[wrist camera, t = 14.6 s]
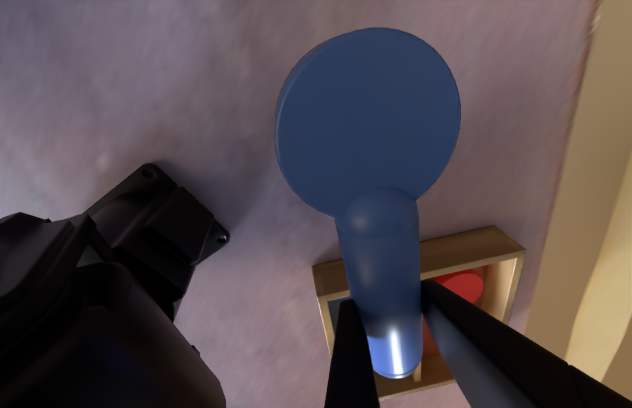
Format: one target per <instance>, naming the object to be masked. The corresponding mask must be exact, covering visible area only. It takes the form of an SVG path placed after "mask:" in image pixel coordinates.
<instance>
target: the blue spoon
mask: <svg viewBox="0 0 632 408" xmlns="http://www.w3.org/2000/svg"><path fill="white" fill-rule="evenodd" d="M460 121H461V104H460V97H459V92H458V88H457V85H456V81H455V79H454V77H453V75H452V73H451V70H450V68H449V67H448V65H447V64H446V62H445V61H444V59H443V58H442V57H441V56H440V55H439V53H438V52H437V51H436V50H435V49H434V48H433V47H431V46H430V45H429V44H428V43H426V42H425V41H424V40H422V39H420V38H418V37H416V36H414V35H413V34H410V33H407V32H404V31H401V30H398V29H391V28H365V29H359V30H355V31H352V32H349V33H345V34H342V35H340V36H337V37H334V38H331V39H329V40H327V41H325V42H323V43H321V44H319V45H317V46H316V47H314V48H313V49H311V50H310V51H309V52H308V53H306V54H305V55H304V56H303V57H302V58H301V59H300V60H299V61H298V62H297V64H296V65H295V66H294V67H293V68H292V70H291V71H290V73H289V74H288V76H287V78H286V79H285V81H284V83H283V86H282V88H281V90H280V93H279V96H278V99H277V103H276V109H275V120H274V141H275V151H276V155H277V160H278V163H279V166H280V169H281V171H282V174H283V175H284V177H285V179H286V181H287V183H288V184H289V186H290V187H291V188H292V190H293V191H294V192H295V193H296V194H297V195H298V196H299V197H300V198H301V199H302V200H303V201H304V202H305V203H307V204H308V205H309V206H311V207H312V208H314V209H316V210H317V211H319V212H322V213H324V214H326V215H329V216H332V217H335V224H336V229H337V233H338V238H339V243H340V248H341V252H342V257H343V262H344V267H345V271H346V276H347V281H348V286H349V290H350V295H351V298H352V299H353V300H354V302H355V304H356V306H357V309H358V312H359V315H360V317H361V320H362V323H363V326H364V328H365V331H366V335H367V339H368V343H369V348H370V354H371V359H372V365H373V369H374V370H375V371H376V372H377V373H379V374H380V375H382V376H385V377H388V378H395V379H398V378H403V377H406V376H409V375H410V374H412V373H413V372H414V371H415V370H416V369H417V367H418V366H419V364H420V362H421V359H422V354H423V333H422V304H421V276H420V247H419V218H418V208H417V203H416V200H417V199H418V198H419V197H420V196H422V195H423V194H424V193H425V192H426V191H427V190H428V189H429V188H430V187H431V186H432V185H433V184H434V183H435V181H436V180H437V179H438V178H439V176H440V175H441V174H442V172H443V170H444V169H445V167H446V166H447V164H448V162H449V160H450V158H451V156H452V154H453V151H454V148H455V145H456V142H457V139H458V134H459V130H460Z"/></svg>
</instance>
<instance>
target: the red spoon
mask: <svg viewBox="0 0 632 408" xmlns="http://www.w3.org/2000/svg"><path fill="white" fill-rule="evenodd" d="M431 279H433V280H435V281H437V282H438V283H440V284H441V285H443V286H445V287H446V288H448V289H450V290H451V291H453V292H454V293H456V294H458V295H459V296H461V297H462V298H464V299H466V300H467V301H469V302H471V303H473V302H475V301H476V300H477V299H478V298H479V296H480V295H481V293H482V291H483V287H484V284H483V280H482V278H481V277H480V276H479V275H478V274H477V273H476V272H475V271H474V270H473V269H472V268H471V269H466V270H462V271H458V272H453V273H449V274H444V275H440V276H436V277H431ZM438 351H439V349H438ZM439 353H440V351H439ZM440 355H441V354H440Z"/></svg>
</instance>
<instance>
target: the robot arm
mask: <svg viewBox="0 0 632 408" xmlns="http://www.w3.org/2000/svg"><path fill="white" fill-rule="evenodd" d="M146 170H150V171H152V173H153V176H150V175H148V174H147V173H146ZM218 236H223V237H225V238H224V239H220V238H219V237H218ZM229 239H230V233H229V232H228V231H227V230H226V229H225V228H224V227H223V226H222V225H221V224H219V223H218V222H217V221H216V220H215V219H214V215H213V214H212V213H211V212H210V211H209V210H208V209H207V208H205V207H204V206H203V205H202V204H201V203H200V202H199V201H198V200H197V199H196V198H195V197H194V196H193V195H192V194H190V193H189V192H188V191H187V190H186V189H185V188H184V187H181V186H178V185H177V184H176V183H175V182H174V181H173V180H172V179H171V178H170V177H169V176H168V175H166V174H165V173H164V172H163V171H162V170H161V169H160V168H159V167H158V166H156V165H155V164H153V163H145V164H143V165H142V166H141V167H140V168H138V169H137V170H136V171H135V172H133V173H132V174H131V175H130V176H128V177H127V178H126V179H125V180H123V181H122V182H121V183H120V184H119V185H117V186H116V187H115V188H114V189H112V190H111V191H110V192H109V193H107V194H106V195H105V196H104V197H102V198H101V199H100V200H99V201H97V202H96V203H95V204H94V205H93V206H91V207H90V208H89V209H88V210H86V211H85V212H84V213H83V214H80V215H77V216H74V217H71V218H67V219H64V220H59V221H55V222H51V220H50V219H41V218H38V217H35V216H32V215H28V214H25V213H22V212H18V213H15V214H12V215H9V216H6V217H3V218H1V219H0V408H226V399H225V396H224V393H223V390H222V387H221V384H220V381H219V380H218V379H217V377H216V376H215V375H214V374H213V372H212V371H211V370H210V369H209V367H208V366H207V365H206V364H205V363H204V361H203V360H202V359H201V358H200V353H199V351H198V350H197V349H196V347H195V346H193V345H190V344H189V342H188V341H187V340H186V339H185V338H184V336H183V335H182V334H181V333H180V331H179V330H178V329H177V328H176V326H175V325H174V324H173V322H174V320H175V317H176V314H177V312H178V309H179V306H180V304H181V301H182V299H183V297H184V296H185V294H186V291H187V288H188V286H189V283H190V281H191V278H192V275H193V273H194V270H195V267H196V265H198V264H199V263H200V262H202V261H203V260H205V259H206V258H208V257H209V256H211V255H212V254H213V253H215V252H216V251H218V250H219V249H221V248H222V247H224V246H225V245H226V244H227V243H228V242H229ZM421 304H422V314H423V317H424V319H425V321H426V323H427V325H428V328H429V330H430V332H431V334H432V336H433V338H434V341H435V343H436V345H437V347H438V349H439V351H440V354H441V356H442V358H443V360H444V361H445V363H446V365H447V367H448V368H449V370H450V372H451V374H452V375H453V377H454V379H455V380H456V382H457V384H458V386H459V387H460V389H461V391H462V392H463V394H464V396H465V397H466V399H467V401H468V403H469V404H470V406H471V408H632V401H631V400H629V399H627V398H625V397H623V396H622V395H620V394H618V393H617V392H615V391H613V390H611V389H610V388H608V387H607V386H605V385H603V384H602V383H600V382H598V381H597V380H595V379H593V378H592V377H590V376H588V375H587V374H585V373H584V372H582V371H580V370H579V369H577V368H576V367H574V366H572V365H568V363H567V362H566V361H564V360H562V359H561V358H559V357H558V356H556V355H554V354H553V353H551V352H550V351H548V350H546V349H545V348H543V347H541V346H540V345H538V344H537V343H535V342H533V341H532V340H530V339H529V338H527V337H525V336H524V335H522V334H520V333H519V332H517V331H516V330H514V329H512V328H511V327H509V326H508V325H506V324H504V323H503V322H501V321H500V320H498V319H496V318H495V317H493V316H491V315H490V314H488V313H487V312H485V311H483V310H482V309H480V308H479V307H477V306H475V305H474V304H472V303H471V302H469V301H467V300H466V299H464V298H462V297H461V296H459V295H458V294H456V293H454V292H453V291H451V290H450V289H448V288H446V287H445V286H443V285H441V284H440V283H438V282H437V281H435V280H433V279H431V278H427V279H424V280H421ZM324 408H380V403H379V397H378V392H377V386H376V381H375V375H374V370H373V365H372V359H371V354H370V348H369V343H368V339H367V335H366V331H365V328H364V326H363V323H362V320H361V317H360V315H359V312H358V309H357V306H356V304H355V302H354V300H353V299H352V298H350V299H347V300H343V301H341V302H340V305H339V311H338V318H337V325H336V332H335V338H334V345H333V352H332V359H331V365H330V372H329V379H328V386H327V392H326V399H325V406H324Z"/></svg>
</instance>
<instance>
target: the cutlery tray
mask: <svg viewBox="0 0 632 408" xmlns="http://www.w3.org/2000/svg"><path fill="white" fill-rule="evenodd" d="M419 247H420V276H421V280H424V279H427V278H431V277H436V276H440V275H444V274H449V273H453V272H458V271H462V270H466V269H471V268H472V269H473V270H474V271H475V272H476V273H477V274H478V275H479V276H480V277H481V278H482V280H483V284H484V287H483V291H482V293H481V295H480V296H479V298H478V299H477V300H476V301H475V302H473V303H472V304H474V305H475V306H477V307H479V308H480V309H482V310H483V311H485V312H487V313H488V314H490V315H491V316H493V317H495V318H496V319H498V320H500V321H501V322H503V323H504V324H506V325H508V322H509V318H510V314H511V310H512V306H513V302H514V298H515V294H516V290H517V286H518V282H519V278H520V274H521V270H522V266H523V262H524V258H525V254H526V249H525V248H524V247H523V246H521V245H520V244H519V243H517V242H516V241H515V240H513V239H512V238H511V237H509V236H508V235H507V234H505V233H504V232H503V231H501V230H500V229H499V228H498V227H496V226H490V227H486V228H481V229H477V230H472V231H468V232H463V233H459V234H454V235H450V236H445V237H440V238H436V239H431V240H427V241H422V242H419ZM311 268H312V273H313V279H314V284H315V290H316V295H317V300H318V304H319V309H320V313H321V317H322V321H323V326H324V330H325V334H326V339H327V343H328V347H329V352H330V356H331V359H332V352H333V345H334V338H335V332H336V325H337V318H338V311H339V305H340V302H341V301H343V300H347V299H350V298H351V295H350V290H349V286H348V281H347V276H346V271H345V267H344V262H343V259H341V260H337V261H332V262H328V263H323V264H319V265H314V266H311ZM422 333H423V354H422V359H421V362H420V364H419V366H418V367H417V369H416V370H415V371H414V372H413V373H412V374H410V375H409V376H406V377H403V378H398V379H395V378H388V377H385V376H382V375H380V374H379V373H377V372H376V371H375V370H374V369H373V370H374V375H375V381H376V386H377V392H378V397H379V401H382V400H386V399H390V398H394V397H398V396H402V395H406V394H410V393H414V392H418V391H423V390H427V389H431V388H435V387H439V386H443V385H447V384H451V383H455V382H456V380H455V379H454V377H453V375H452V374H451V372H450V370H449V368H448V367H447V365H446V363H445V361H444V360H443V358H442V356H441V355H440V353H439V351H438V347H437V345H436V343H435V341H434V338H433V336H432V334H431V332H430V330H429V328H428V325H427V323H426V321H425V319H424V317H423V314H422Z"/></svg>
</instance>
